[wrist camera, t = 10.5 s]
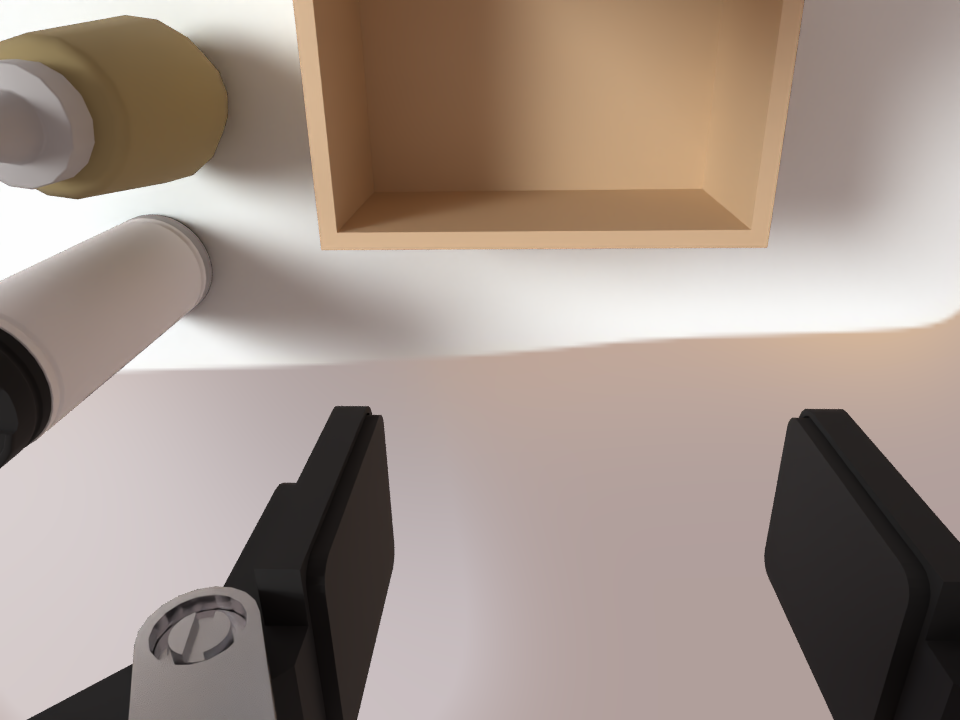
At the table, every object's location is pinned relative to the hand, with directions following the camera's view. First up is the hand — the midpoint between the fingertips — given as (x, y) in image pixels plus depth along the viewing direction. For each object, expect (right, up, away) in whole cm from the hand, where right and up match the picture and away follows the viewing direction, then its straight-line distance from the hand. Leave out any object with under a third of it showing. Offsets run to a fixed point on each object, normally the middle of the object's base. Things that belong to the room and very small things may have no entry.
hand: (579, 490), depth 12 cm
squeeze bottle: (-19, +17, +28) cm, 38 cm away
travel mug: (-21, +8, +33) cm, 40 cm away
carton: (+1, +19, +26) cm, 32 cm away
